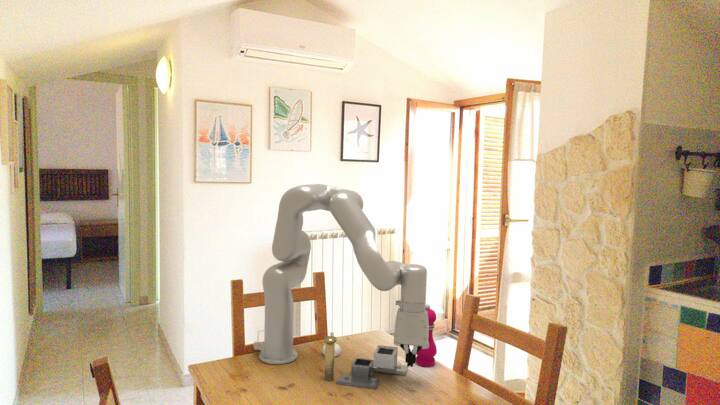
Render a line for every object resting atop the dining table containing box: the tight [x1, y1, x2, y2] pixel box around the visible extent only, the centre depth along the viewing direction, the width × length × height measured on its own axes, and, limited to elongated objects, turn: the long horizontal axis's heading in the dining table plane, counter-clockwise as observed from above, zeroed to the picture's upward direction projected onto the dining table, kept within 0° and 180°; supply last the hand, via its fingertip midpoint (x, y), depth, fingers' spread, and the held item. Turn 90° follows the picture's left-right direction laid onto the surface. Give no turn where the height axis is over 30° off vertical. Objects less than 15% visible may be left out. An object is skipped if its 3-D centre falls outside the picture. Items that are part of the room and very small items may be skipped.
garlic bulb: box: [321, 331, 341, 358], centre depth 168 cm, size 6×6×8 cm
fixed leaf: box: [336, 357, 380, 390], centre depth 150 cm, size 12×11×4 cm
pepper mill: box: [415, 303, 437, 368], centre depth 162 cm, size 7×7×20 cm
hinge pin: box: [323, 335, 337, 382], centre depth 148 cm, size 4×4×13 cm
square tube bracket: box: [372, 344, 409, 376], centre depth 153 cm, size 12×12×8 cm
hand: (410, 365), depth 149 cm, fingers closed
